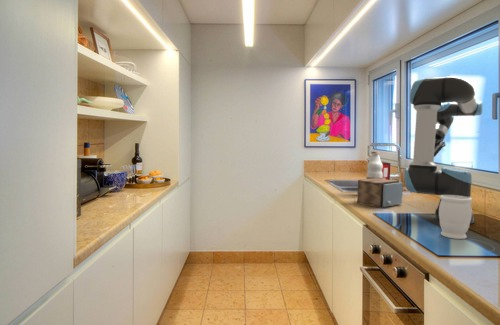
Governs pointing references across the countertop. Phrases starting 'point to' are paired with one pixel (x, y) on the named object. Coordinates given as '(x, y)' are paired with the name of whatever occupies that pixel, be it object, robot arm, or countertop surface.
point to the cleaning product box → (385, 170)
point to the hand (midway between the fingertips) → (422, 164)
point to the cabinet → (372, 191)
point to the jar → (455, 215)
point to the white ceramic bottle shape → (375, 166)
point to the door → (392, 194)
